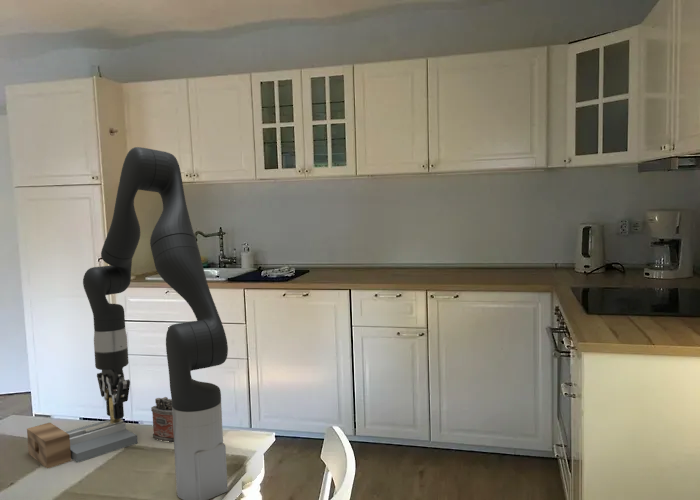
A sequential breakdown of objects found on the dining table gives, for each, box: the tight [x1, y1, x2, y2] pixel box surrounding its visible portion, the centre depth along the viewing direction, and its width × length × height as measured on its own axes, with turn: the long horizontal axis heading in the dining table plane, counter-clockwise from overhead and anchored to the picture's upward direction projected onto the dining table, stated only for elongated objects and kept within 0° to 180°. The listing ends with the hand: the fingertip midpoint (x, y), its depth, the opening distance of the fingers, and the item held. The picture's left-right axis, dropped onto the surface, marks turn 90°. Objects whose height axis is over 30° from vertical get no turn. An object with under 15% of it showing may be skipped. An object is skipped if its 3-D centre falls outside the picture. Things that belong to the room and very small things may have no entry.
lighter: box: [150, 396, 174, 443], centre depth 140 cm, size 8×3×10 cm, turn 62°
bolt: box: [83, 397, 124, 434], centre depth 140 cm, size 2×9×8 cm, turn 136°
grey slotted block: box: [65, 419, 139, 463], centre depth 139 cm, size 16×14×4 cm
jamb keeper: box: [26, 422, 72, 469], centre depth 131 cm, size 12×5×6 cm, turn 46°
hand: (115, 416), depth 142 cm, fingers open, 3 cm apart
